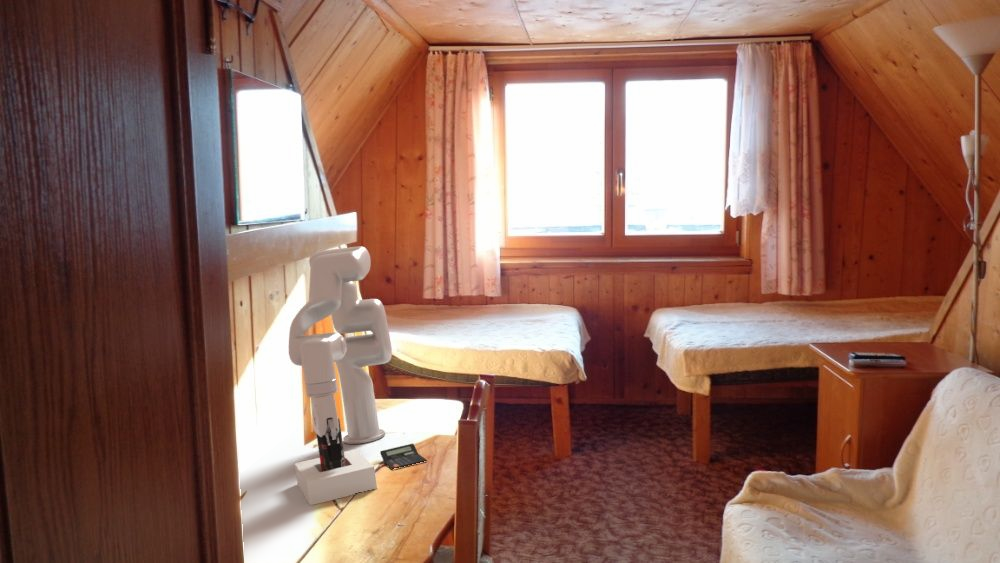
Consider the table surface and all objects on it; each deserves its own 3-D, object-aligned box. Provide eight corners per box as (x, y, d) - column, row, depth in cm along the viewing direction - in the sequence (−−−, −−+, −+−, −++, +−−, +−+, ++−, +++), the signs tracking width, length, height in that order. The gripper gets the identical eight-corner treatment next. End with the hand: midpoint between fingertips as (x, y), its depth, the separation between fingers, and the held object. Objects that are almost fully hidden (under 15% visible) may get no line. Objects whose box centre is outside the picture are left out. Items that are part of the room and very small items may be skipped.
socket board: (297, 484, 200) (294, 463, 199) (358, 469, 206) (355, 449, 205) (310, 505, 181) (306, 482, 181) (377, 488, 187) (374, 466, 187)
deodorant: (344, 482, 190) (336, 422, 190) (320, 485, 191) (312, 425, 190) (349, 475, 196) (341, 416, 196) (326, 477, 197) (318, 419, 196)
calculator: (392, 471, 201) (391, 460, 201) (381, 461, 212) (379, 450, 212) (427, 463, 205) (425, 451, 205) (414, 453, 215) (412, 443, 215)
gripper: (301, 386, 198) (310, 451, 199) (312, 396, 182) (322, 467, 183) (330, 380, 201) (339, 445, 202) (344, 389, 185) (354, 460, 186)
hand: (331, 455), depth 193 cm, fingers open, 9 cm apart
